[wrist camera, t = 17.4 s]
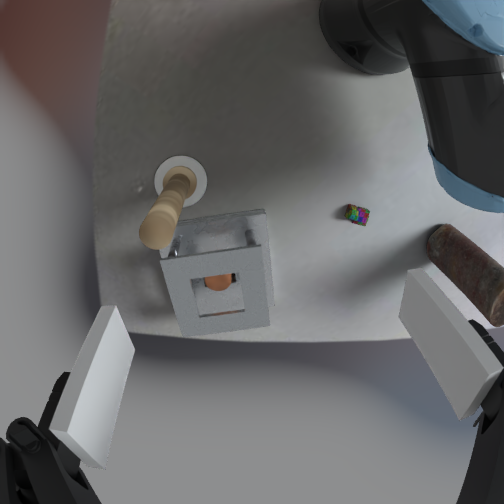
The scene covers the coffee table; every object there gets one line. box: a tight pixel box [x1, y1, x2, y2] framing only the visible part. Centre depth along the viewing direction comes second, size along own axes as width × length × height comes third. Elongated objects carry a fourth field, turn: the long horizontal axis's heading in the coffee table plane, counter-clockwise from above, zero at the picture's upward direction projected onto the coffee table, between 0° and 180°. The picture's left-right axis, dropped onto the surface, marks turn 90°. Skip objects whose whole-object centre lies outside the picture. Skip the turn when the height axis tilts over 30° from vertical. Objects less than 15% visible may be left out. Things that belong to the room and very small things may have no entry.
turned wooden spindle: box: [139, 166, 197, 250], centre depth 32 cm, size 4×4×17 cm
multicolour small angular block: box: [345, 204, 370, 226], centre depth 44 cm, size 4×3×2 cm, turn 75°
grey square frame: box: [159, 209, 275, 337], centre depth 43 cm, size 15×15×8 cm
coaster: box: [154, 156, 207, 207], centre depth 40 cm, size 7×7×1 cm
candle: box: [427, 224, 504, 327], centre depth 40 cm, size 8×7×20 cm
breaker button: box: [205, 274, 231, 291], centre depth 44 cm, size 4×4×4 cm
